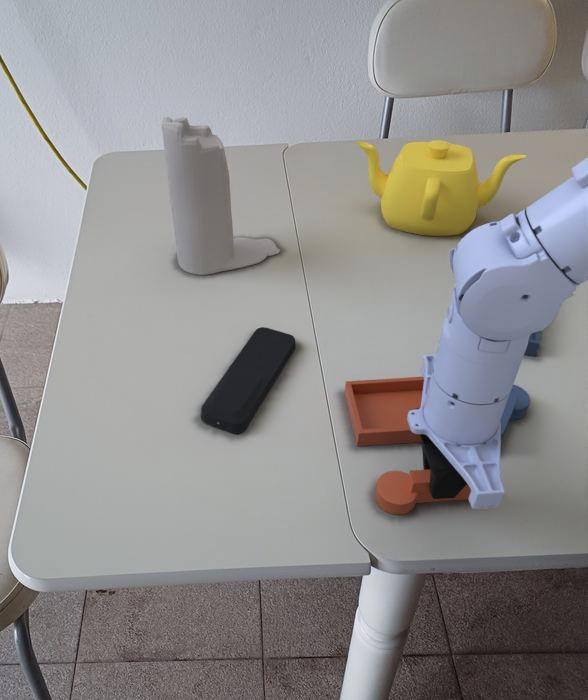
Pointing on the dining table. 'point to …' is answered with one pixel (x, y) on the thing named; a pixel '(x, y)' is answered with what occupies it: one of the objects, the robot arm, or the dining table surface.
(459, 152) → the teapot
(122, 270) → the dining table surface
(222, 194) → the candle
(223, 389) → the remote control
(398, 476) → the terracotta spoon
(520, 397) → the slate spoon
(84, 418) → the dining table surface
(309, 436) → the dining table surface
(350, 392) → the terracotta tray
